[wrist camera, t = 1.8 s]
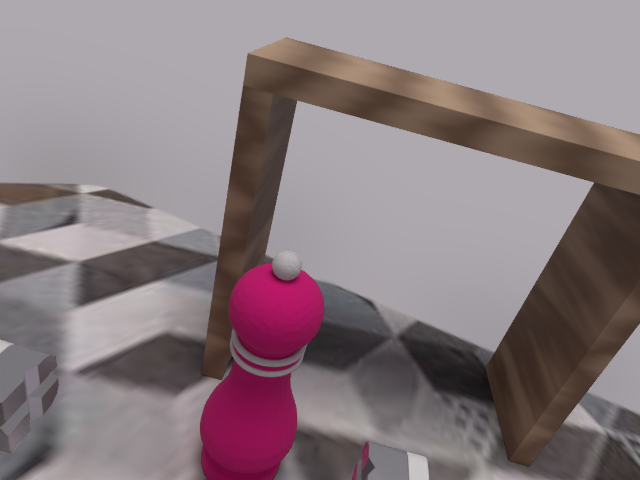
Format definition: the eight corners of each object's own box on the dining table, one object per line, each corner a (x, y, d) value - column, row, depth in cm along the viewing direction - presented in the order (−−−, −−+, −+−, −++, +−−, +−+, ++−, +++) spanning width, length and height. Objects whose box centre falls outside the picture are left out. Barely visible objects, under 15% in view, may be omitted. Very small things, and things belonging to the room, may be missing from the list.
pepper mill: (235, 405, 41) (276, 211, 31) (301, 452, 38) (368, 258, 28) (174, 463, 35) (200, 247, 25) (247, 524, 32) (309, 311, 22)
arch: (201, 374, 43) (247, 53, 28) (238, 299, 53) (286, 37, 39) (529, 466, 42) (742, 189, 28) (501, 372, 53) (647, 136, 39)
